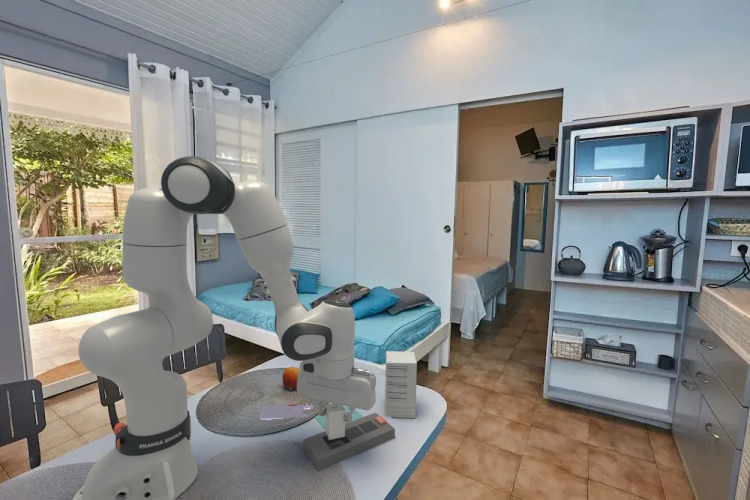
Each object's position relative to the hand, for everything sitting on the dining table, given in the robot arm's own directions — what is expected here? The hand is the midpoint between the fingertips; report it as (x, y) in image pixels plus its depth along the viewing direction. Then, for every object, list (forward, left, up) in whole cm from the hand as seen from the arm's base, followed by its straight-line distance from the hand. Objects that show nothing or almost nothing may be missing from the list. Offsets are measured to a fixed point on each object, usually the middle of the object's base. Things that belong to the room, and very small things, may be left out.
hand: (335, 417), depth 86 cm
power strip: (+4, -1, -9) cm, 10 cm away
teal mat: (+7, +10, -9) cm, 15 cm away
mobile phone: (-4, +23, -9) cm, 25 cm away
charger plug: (0, 0, -4) cm, 4 cm away
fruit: (+3, +36, -9) cm, 38 cm away
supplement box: (+25, +5, -9) cm, 27 cm away
